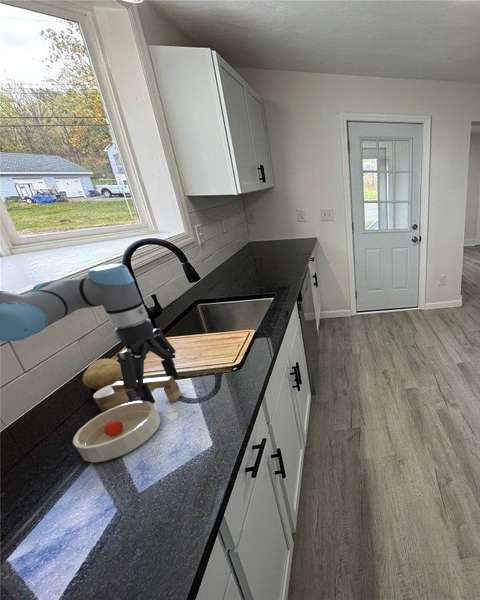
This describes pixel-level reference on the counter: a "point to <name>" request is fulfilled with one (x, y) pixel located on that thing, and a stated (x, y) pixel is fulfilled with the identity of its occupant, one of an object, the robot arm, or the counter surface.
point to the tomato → (113, 428)
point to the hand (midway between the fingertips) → (162, 390)
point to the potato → (102, 374)
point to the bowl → (136, 430)
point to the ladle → (117, 395)
